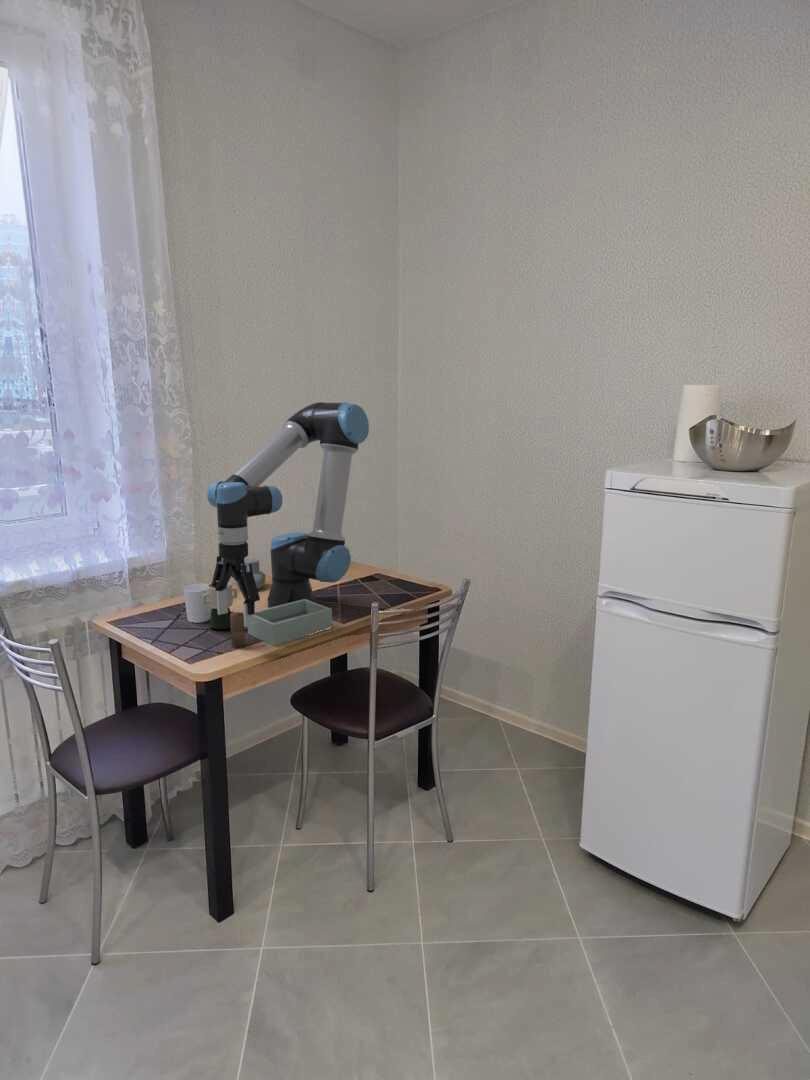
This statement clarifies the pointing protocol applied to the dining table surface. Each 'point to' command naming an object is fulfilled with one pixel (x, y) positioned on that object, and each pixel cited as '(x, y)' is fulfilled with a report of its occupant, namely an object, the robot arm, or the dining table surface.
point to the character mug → (217, 620)
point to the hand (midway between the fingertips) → (235, 619)
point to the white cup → (196, 603)
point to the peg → (237, 630)
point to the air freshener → (255, 572)
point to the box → (290, 621)
